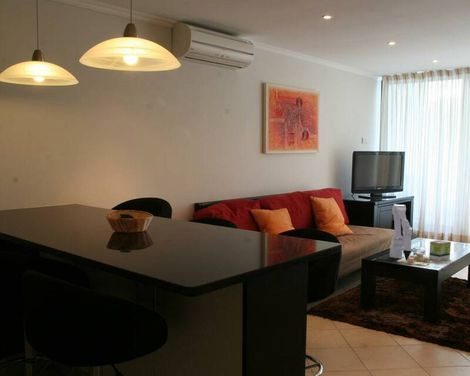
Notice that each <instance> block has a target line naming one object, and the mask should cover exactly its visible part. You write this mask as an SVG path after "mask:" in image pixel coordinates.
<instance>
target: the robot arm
mask: <svg viewBox="0 0 470 376" xmlns="http://www.w3.org/2000/svg"><path fill="white" fill-rule="evenodd" d="M406 211H407V207H406V204H393V205H392V207H391V214H392V215H393V219H394V235H393V236H392V237H391V241H390V244H391V246H390V248H389V258H394V259H403V258H404V260H407V258H409V257H410V255H412V254H411V253H418V251H417V250H418V249H414V248H412V236H413V235H414V231H413V230H414V228H412V227H411V226H410V222H409V220H408V219H407V215H406Z"/></svg>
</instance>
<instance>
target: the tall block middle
mask: <svg viewBox="0 0 470 376" xmlns="http://www.w3.org/2000/svg"><path fill="white" fill-rule="evenodd" d="M415 256H416V261H417V262H423V258H424V253H421V252H416V254H415Z"/></svg>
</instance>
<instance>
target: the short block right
mask: <svg viewBox="0 0 470 376" xmlns="http://www.w3.org/2000/svg"><path fill="white" fill-rule="evenodd" d="M423 263H429V264H430V263H431V259H430V258H429V257H427V256H423Z"/></svg>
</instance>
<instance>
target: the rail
mask: <svg viewBox="0 0 470 376" xmlns="http://www.w3.org/2000/svg"><path fill="white" fill-rule="evenodd" d="M396 261H397V263H402V264H408V265H415V266H420V267H427V266H429V265H430V263H423V262H417V261H415V262H413V263H411V262H407V260H405V258H404V259H403V258H399V259H398V260H396Z"/></svg>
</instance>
